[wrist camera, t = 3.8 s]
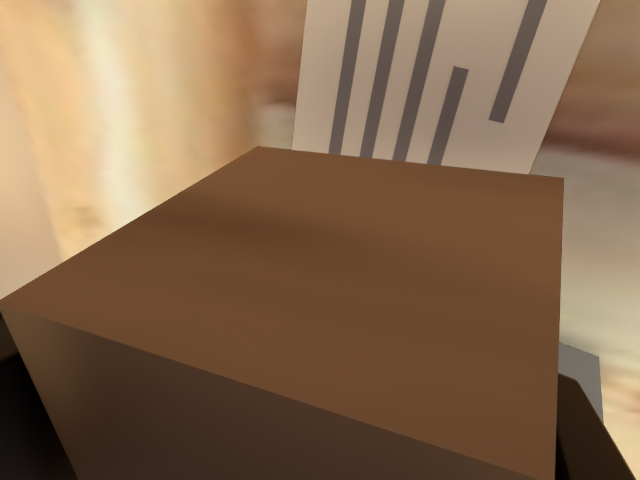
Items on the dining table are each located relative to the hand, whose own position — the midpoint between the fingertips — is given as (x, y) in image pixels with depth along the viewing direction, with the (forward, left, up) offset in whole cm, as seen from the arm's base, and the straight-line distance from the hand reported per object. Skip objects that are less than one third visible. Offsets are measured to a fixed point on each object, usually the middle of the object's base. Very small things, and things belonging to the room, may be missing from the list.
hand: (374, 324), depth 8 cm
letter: (0, +2, -11) cm, 11 cm away
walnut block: (0, 0, -1) cm, 1 cm away
